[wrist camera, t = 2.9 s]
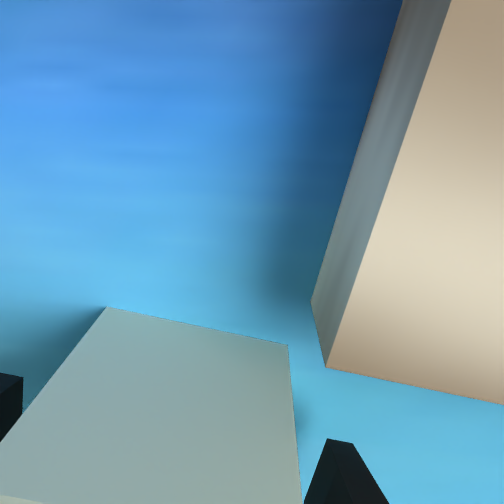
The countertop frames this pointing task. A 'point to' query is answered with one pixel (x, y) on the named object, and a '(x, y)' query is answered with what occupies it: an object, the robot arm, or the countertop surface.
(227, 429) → the sage block
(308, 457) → the countertop surface
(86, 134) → the countertop surface
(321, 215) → the countertop surface
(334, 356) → the birch slab
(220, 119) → the countertop surface
